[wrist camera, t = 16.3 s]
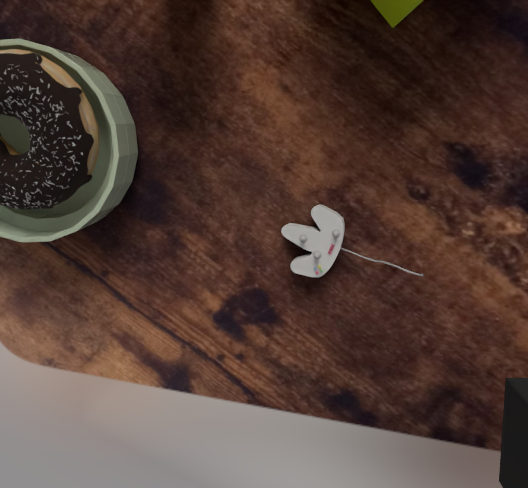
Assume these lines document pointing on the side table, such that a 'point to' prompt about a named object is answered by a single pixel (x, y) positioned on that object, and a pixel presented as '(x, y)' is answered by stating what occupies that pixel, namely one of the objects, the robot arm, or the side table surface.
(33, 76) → the donut
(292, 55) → the side table surface
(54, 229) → the bowl
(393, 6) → the puzzle toy
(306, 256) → the game controller
